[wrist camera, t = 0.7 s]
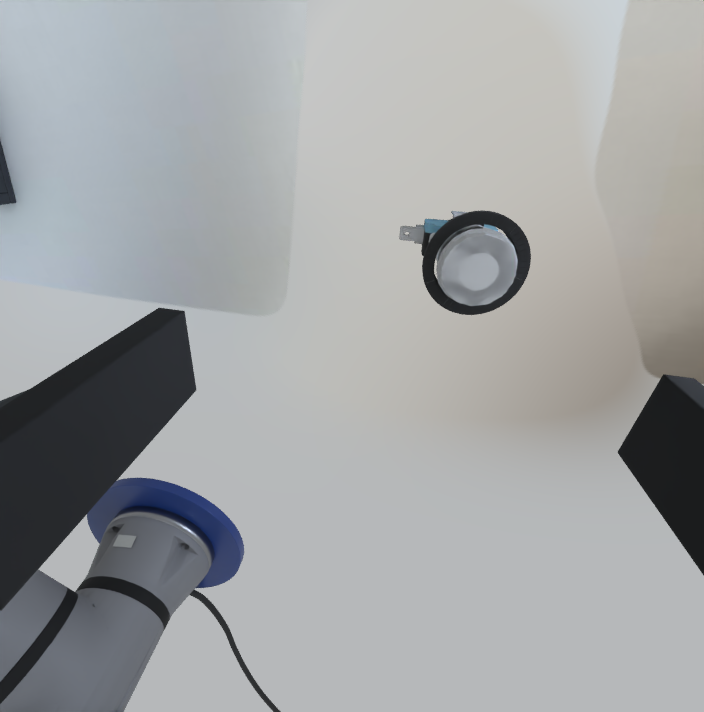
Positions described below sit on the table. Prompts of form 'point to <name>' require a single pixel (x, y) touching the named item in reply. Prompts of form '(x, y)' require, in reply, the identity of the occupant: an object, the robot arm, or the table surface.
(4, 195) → the tray
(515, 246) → the push button
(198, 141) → the table surface
